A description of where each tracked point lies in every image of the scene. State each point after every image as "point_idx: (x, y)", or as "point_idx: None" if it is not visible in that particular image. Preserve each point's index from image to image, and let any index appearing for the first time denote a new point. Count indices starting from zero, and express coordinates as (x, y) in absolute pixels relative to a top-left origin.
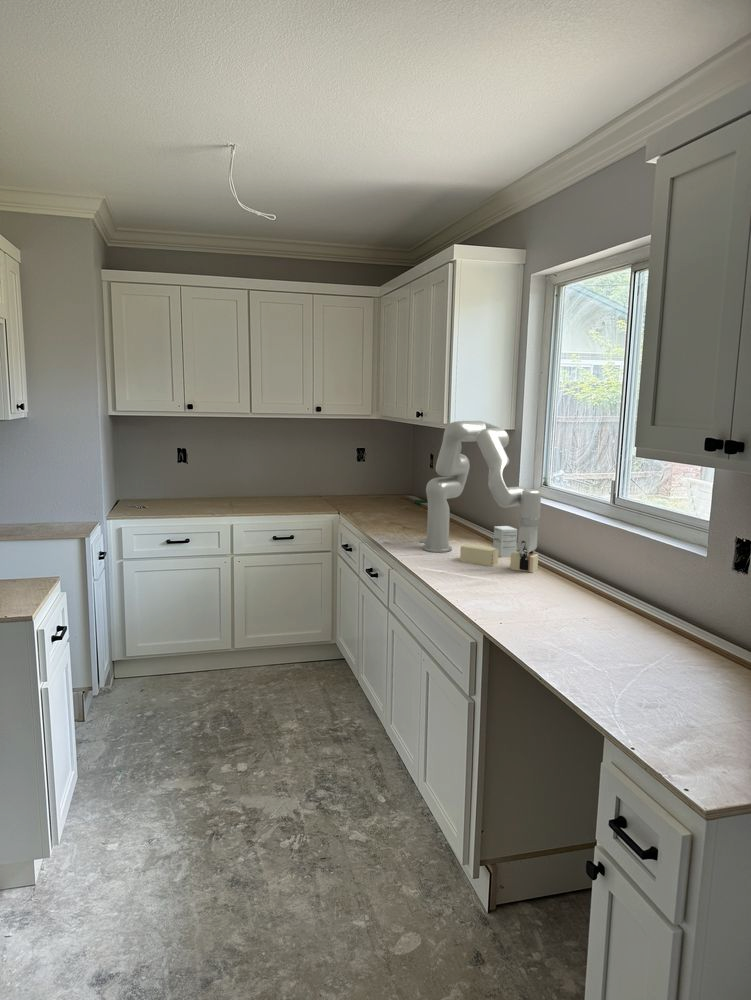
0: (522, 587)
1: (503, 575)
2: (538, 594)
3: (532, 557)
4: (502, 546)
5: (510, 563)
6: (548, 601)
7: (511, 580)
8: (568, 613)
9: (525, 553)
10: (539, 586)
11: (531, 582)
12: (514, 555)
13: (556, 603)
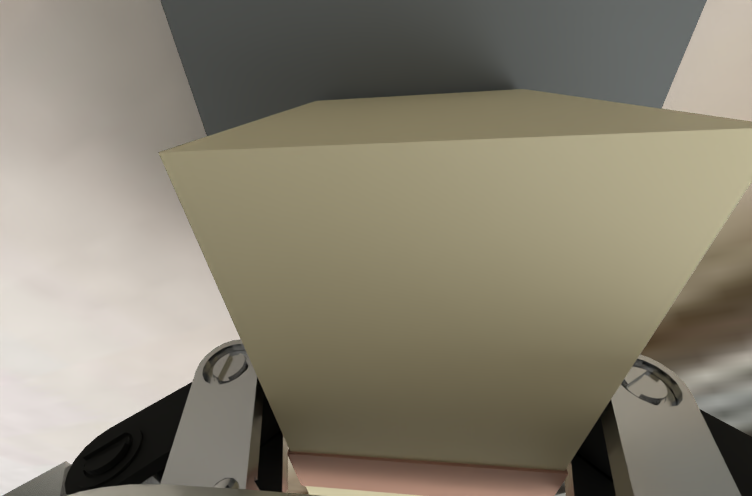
0: (43, 347)
1: (105, 124)
2: (52, 413)
3: (311, 490)
4: None
5: (287, 111)
6: (34, 444)
7: (70, 252)
8: (23, 481)
9: (514, 412)
10: (154, 395)
11: (174, 355)
12: (230, 252)
13: (50, 459)
